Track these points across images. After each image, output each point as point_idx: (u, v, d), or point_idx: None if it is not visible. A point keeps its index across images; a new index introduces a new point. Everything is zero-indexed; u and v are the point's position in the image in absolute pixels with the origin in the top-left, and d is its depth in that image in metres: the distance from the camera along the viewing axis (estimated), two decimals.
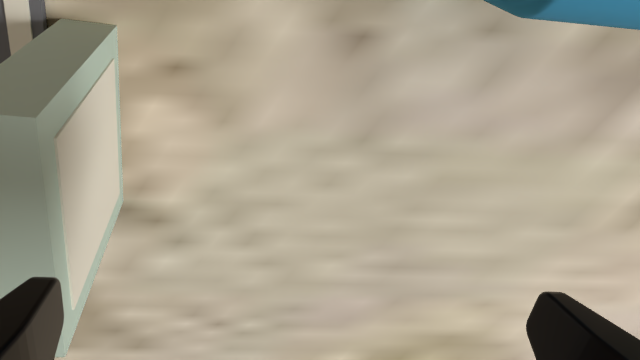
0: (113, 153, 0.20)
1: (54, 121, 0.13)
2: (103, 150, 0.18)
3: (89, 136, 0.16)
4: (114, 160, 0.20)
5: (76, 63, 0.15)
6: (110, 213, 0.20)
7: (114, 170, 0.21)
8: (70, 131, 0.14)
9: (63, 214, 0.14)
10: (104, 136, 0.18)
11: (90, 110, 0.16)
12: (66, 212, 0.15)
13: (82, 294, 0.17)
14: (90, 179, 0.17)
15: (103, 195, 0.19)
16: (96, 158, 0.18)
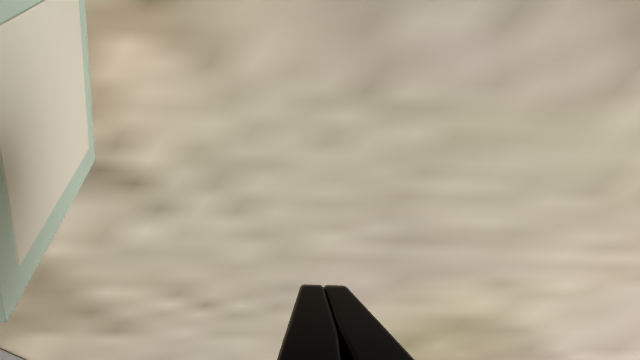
0: (78, 96, 0.17)
1: None
2: (62, 85, 0.16)
3: (40, 58, 0.14)
4: (80, 105, 0.18)
5: None
6: (75, 166, 0.18)
7: (80, 117, 0.18)
8: (7, 37, 0.12)
9: None
10: (64, 69, 0.16)
11: (39, 26, 0.13)
12: (3, 139, 0.12)
13: (34, 251, 0.14)
14: (42, 112, 0.14)
15: (64, 140, 0.16)
16: (52, 91, 0.15)
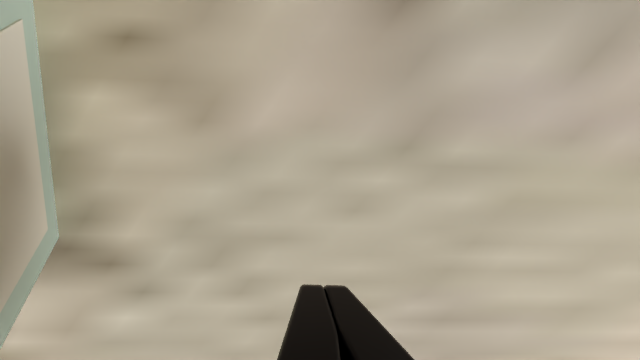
0: (28, 170, 0.13)
1: None
2: None
3: None
4: (31, 180, 0.13)
5: None
6: (24, 263, 0.13)
7: (32, 196, 0.13)
8: None
9: None
10: None
11: None
12: None
13: None
14: None
15: (3, 239, 0.12)
16: None
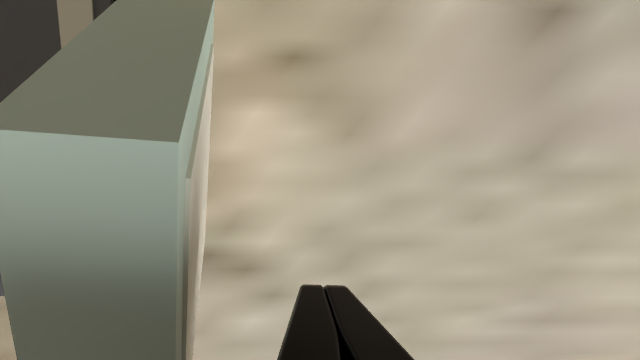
0: (206, 183, 0.14)
1: (187, 144, 0.07)
2: (204, 182, 0.12)
3: (201, 164, 0.10)
4: (205, 192, 0.14)
5: (192, 42, 0.09)
6: (201, 270, 0.14)
7: (205, 207, 0.14)
8: (196, 160, 0.08)
9: (183, 309, 0.08)
10: (206, 160, 0.12)
11: (204, 121, 0.10)
12: None
13: None
14: (198, 232, 0.11)
15: (200, 248, 0.13)
16: (201, 196, 0.11)
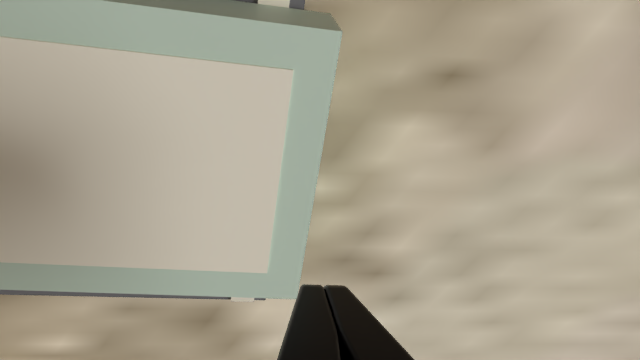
0: (245, 200, 0.13)
1: None
2: (184, 164, 0.13)
3: (114, 108, 0.12)
4: (249, 213, 0.14)
5: (115, 0, 0.11)
6: (203, 265, 0.14)
7: (244, 225, 0.14)
8: (22, 55, 0.11)
9: None
10: (195, 149, 0.12)
11: (124, 75, 0.11)
12: None
13: (49, 274, 0.14)
14: (106, 164, 0.12)
15: (172, 222, 0.13)
16: (145, 155, 0.12)
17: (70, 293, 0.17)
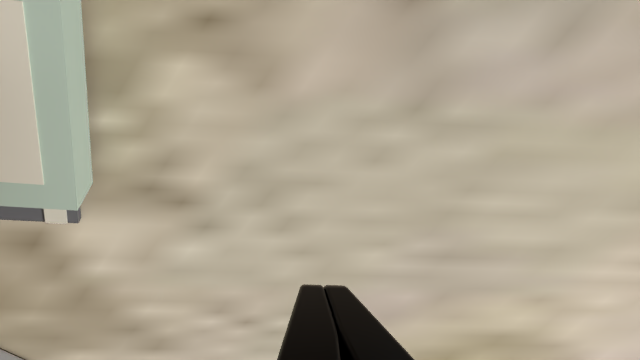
0: (8, 117, 0.16)
1: None
2: None
3: None
4: (14, 128, 0.16)
5: None
6: None
7: (12, 140, 0.16)
8: None
9: None
10: None
11: None
12: None
13: None
14: None
15: None
16: None
17: None
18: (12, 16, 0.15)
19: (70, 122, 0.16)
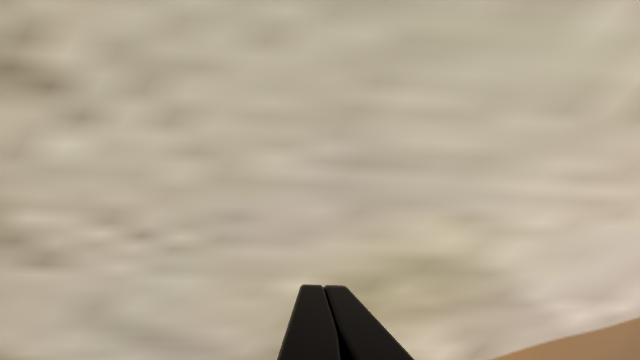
0: None
1: None
2: None
3: None
4: None
5: None
6: None
7: None
8: None
9: None
10: None
11: None
12: None
13: None
14: None
15: None
16: None
17: None
18: None
19: None
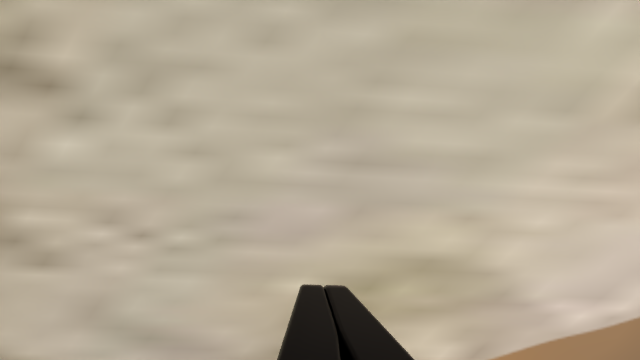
0: None
1: None
2: None
3: None
4: None
5: None
6: None
7: None
8: None
9: None
10: None
11: None
12: None
13: None
14: None
15: None
16: None
17: None
18: None
19: None
